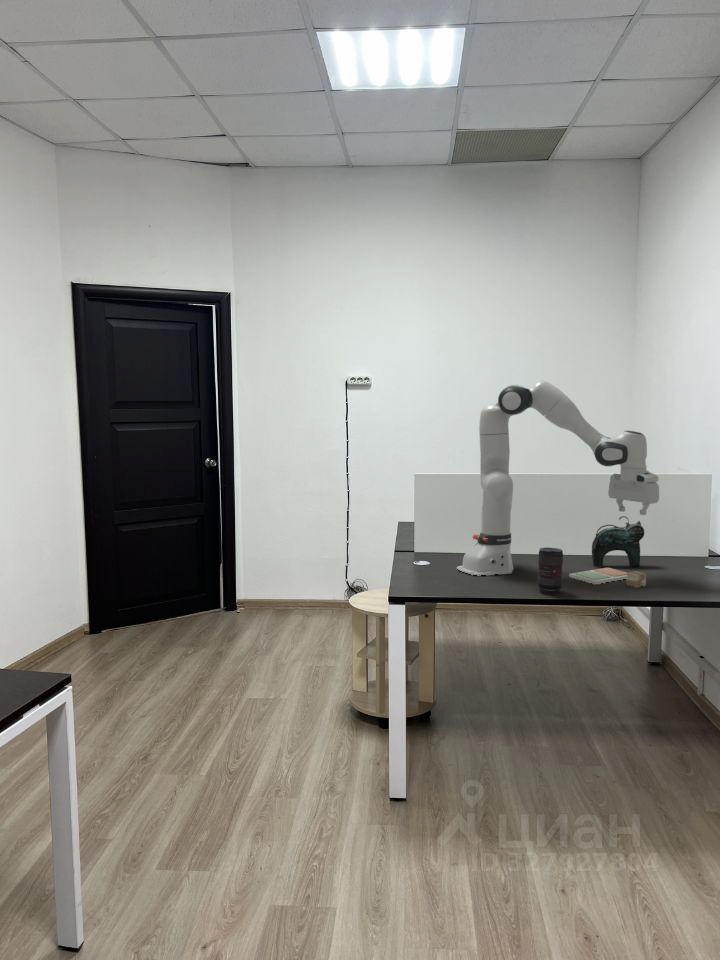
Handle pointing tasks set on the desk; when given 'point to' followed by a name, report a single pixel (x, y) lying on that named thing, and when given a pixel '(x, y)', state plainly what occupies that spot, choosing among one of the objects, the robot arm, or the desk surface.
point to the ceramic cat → (618, 542)
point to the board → (600, 575)
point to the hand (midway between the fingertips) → (632, 513)
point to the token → (636, 579)
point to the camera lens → (550, 570)
